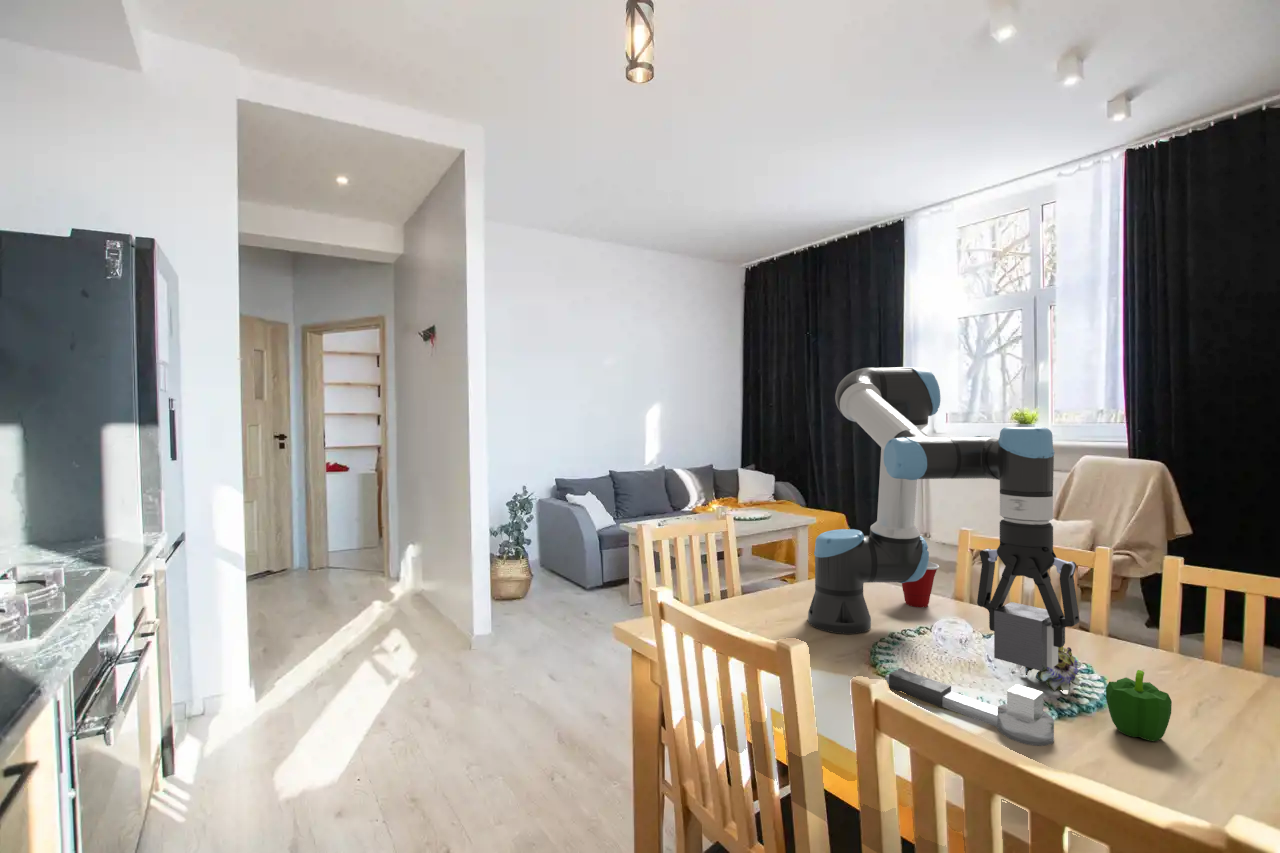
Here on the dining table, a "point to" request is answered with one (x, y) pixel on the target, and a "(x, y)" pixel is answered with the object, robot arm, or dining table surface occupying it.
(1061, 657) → the passion flower
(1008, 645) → the dark grey cube
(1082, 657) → the dining table surface
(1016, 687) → the ratchet
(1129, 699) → the bell pepper
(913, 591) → the plastic cup
